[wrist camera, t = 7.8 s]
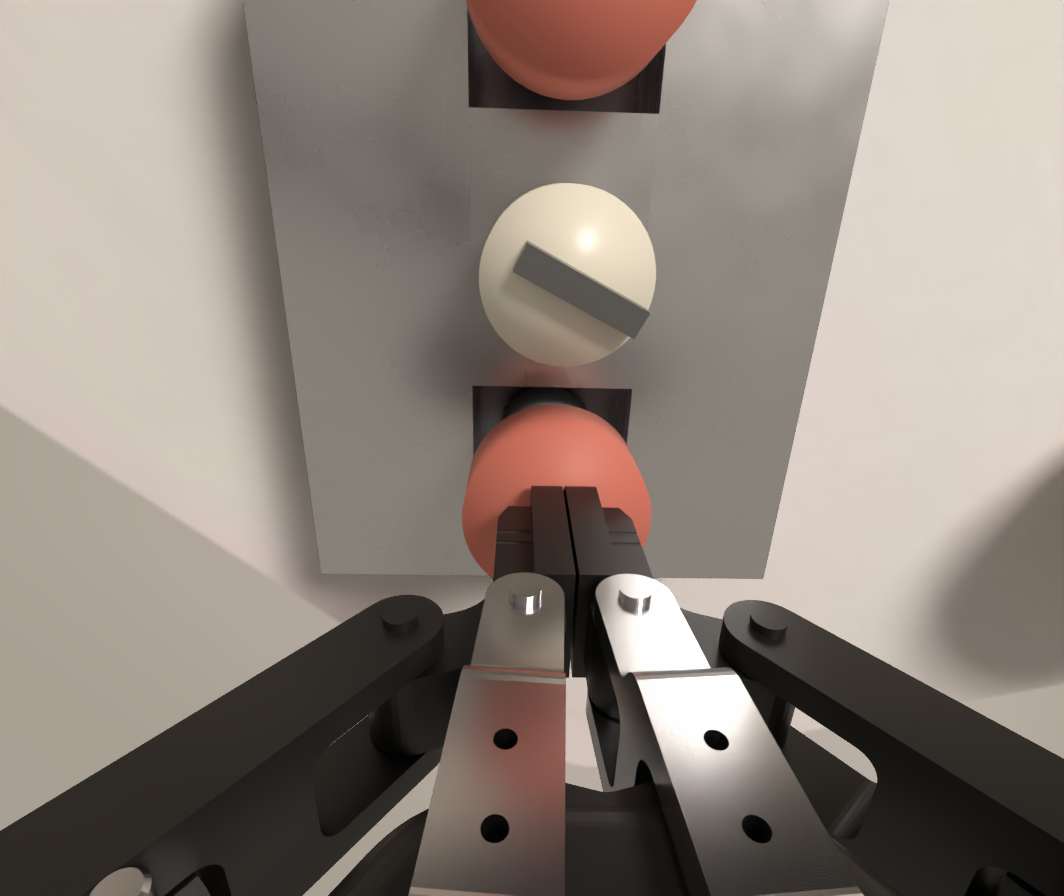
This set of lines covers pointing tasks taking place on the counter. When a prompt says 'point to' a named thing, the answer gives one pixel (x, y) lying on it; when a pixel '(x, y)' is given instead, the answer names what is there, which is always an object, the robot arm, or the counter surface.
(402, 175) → the panel
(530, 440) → the knob outer
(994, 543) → the counter surface
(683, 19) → the knob inner
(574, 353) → the dial
